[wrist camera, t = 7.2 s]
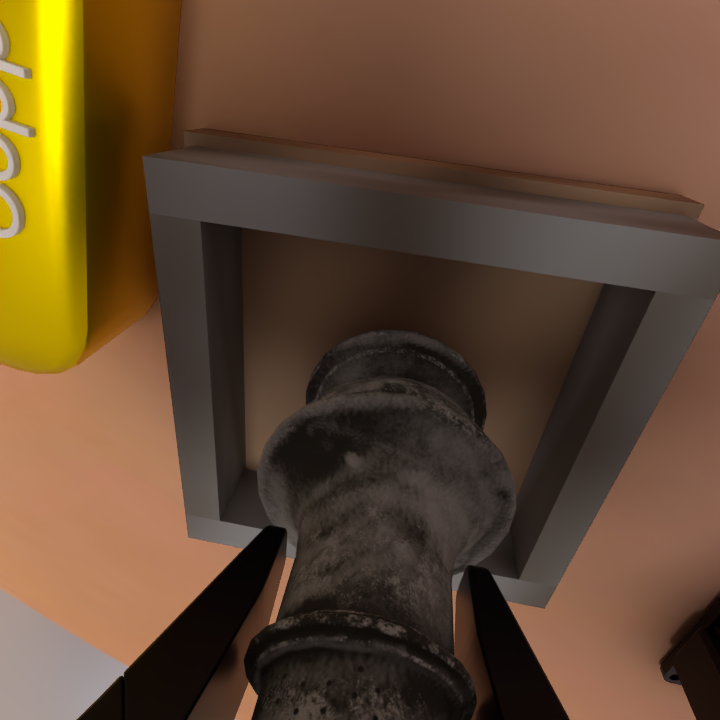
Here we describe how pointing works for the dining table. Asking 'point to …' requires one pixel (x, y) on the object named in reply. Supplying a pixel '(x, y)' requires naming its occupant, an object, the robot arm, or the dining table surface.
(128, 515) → the dining table surface
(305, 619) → the dark grey chess piece
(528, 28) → the dining table surface
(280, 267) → the socket
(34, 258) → the element tile
